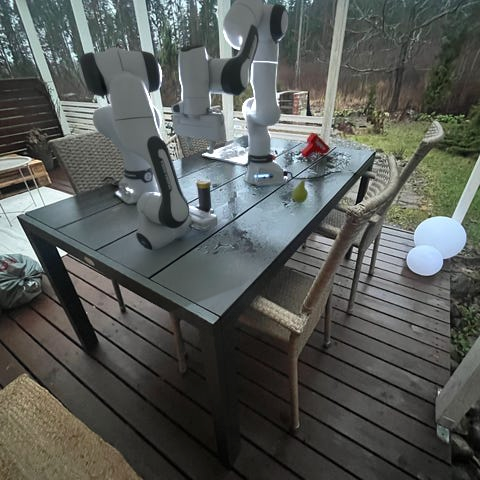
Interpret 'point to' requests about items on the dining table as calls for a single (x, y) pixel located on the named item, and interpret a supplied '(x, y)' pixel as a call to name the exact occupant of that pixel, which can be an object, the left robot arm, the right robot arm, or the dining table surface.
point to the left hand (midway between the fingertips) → (207, 208)
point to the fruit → (300, 192)
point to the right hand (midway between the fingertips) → (200, 151)
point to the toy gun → (314, 146)
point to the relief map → (230, 154)
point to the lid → (203, 183)
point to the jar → (204, 199)
